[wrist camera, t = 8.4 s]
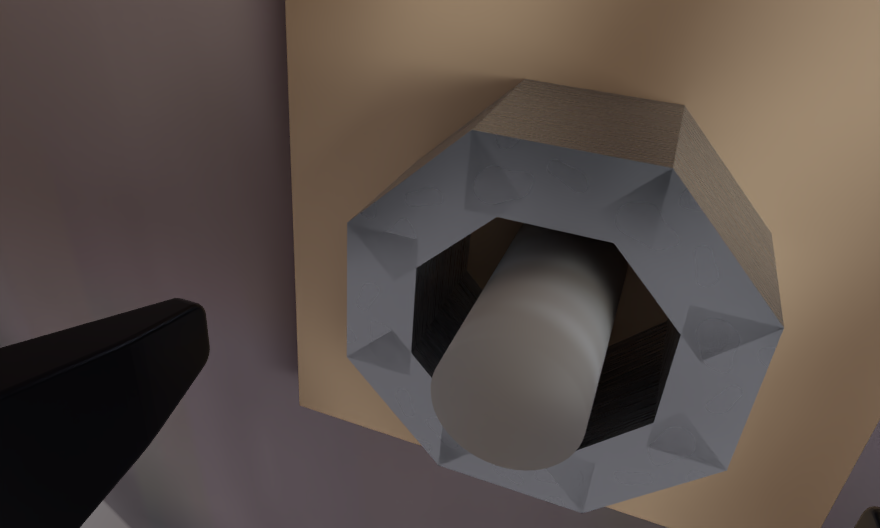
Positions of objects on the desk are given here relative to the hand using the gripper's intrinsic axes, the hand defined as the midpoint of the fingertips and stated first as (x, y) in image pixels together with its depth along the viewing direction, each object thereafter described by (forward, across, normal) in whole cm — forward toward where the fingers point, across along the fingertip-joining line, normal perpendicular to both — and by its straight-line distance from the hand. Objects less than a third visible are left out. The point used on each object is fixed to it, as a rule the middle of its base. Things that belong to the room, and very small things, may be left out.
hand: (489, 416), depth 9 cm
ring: (+5, 0, 0) cm, 5 cm away
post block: (+6, 0, 0) cm, 6 cm away
